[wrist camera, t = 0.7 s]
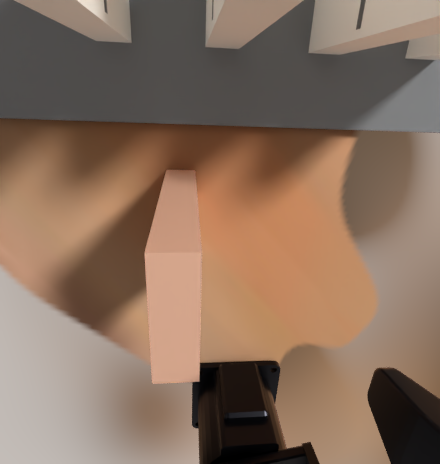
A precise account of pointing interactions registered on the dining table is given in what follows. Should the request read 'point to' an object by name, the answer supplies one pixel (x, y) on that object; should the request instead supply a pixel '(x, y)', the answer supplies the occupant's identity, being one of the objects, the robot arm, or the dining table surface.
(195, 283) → the domino
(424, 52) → the domino
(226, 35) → the domino
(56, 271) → the dining table surface
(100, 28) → the domino
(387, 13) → the domino
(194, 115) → the mat
